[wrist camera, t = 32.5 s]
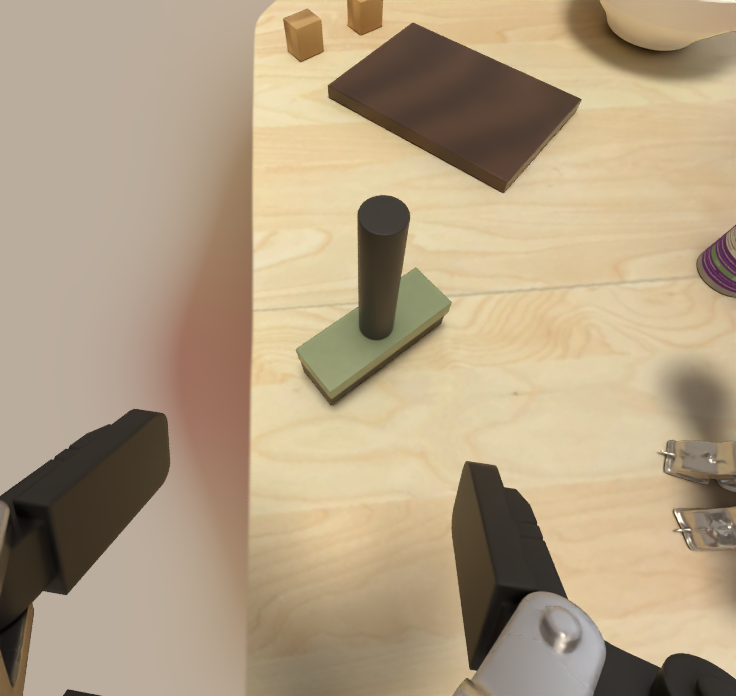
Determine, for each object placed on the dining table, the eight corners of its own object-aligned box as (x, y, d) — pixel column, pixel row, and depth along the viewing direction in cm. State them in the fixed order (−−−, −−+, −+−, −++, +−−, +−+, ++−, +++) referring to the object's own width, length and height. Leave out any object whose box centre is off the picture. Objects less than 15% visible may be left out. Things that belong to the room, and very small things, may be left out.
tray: (328, 97, 40) (327, 85, 39) (411, 34, 45) (412, 22, 44) (503, 193, 35) (507, 182, 34) (576, 110, 40) (582, 99, 39)
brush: (301, 368, 28) (258, 246, 16) (410, 292, 31) (441, 140, 19) (333, 408, 27) (310, 308, 15) (443, 325, 29) (498, 185, 18)
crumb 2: (360, 35, 44) (347, 25, 45) (382, 26, 45) (369, 16, 46) (360, 2, 42) (346, -8, 43) (383, -7, 43) (369, -16, 43)
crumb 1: (300, 61, 42) (287, 51, 43) (323, 51, 43) (310, 40, 44) (296, 29, 40) (282, 18, 40) (321, 18, 40) (307, 8, 41)
